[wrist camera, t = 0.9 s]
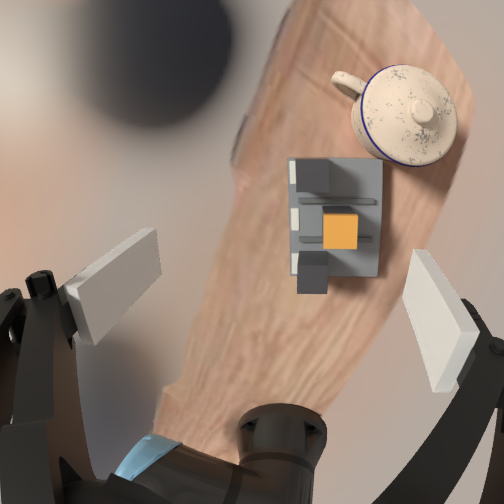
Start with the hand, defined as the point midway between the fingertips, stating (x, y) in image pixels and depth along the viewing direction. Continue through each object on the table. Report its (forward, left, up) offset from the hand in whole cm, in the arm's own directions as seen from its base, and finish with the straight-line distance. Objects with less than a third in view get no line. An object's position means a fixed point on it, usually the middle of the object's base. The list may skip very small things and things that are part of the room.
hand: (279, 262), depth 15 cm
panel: (-2, -4, -21) cm, 21 cm away
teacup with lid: (+9, -9, -21) cm, 25 cm away
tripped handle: (-2, -4, -19) cm, 19 cm away
